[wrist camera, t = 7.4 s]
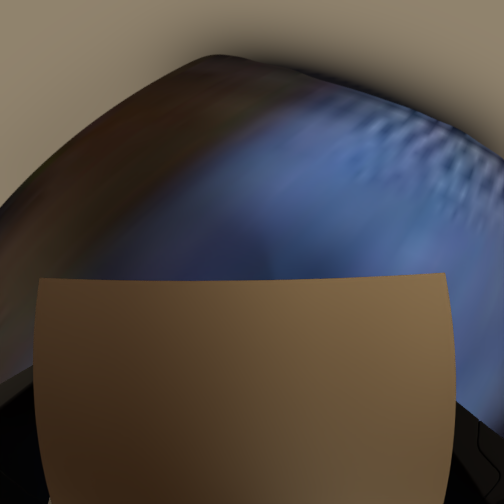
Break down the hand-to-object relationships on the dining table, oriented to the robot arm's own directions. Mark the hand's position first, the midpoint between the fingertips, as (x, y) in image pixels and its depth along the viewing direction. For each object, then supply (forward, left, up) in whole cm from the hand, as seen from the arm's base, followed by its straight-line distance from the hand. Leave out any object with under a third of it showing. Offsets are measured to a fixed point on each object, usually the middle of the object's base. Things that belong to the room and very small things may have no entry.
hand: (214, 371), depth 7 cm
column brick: (-1, 0, -8) cm, 8 cm away
